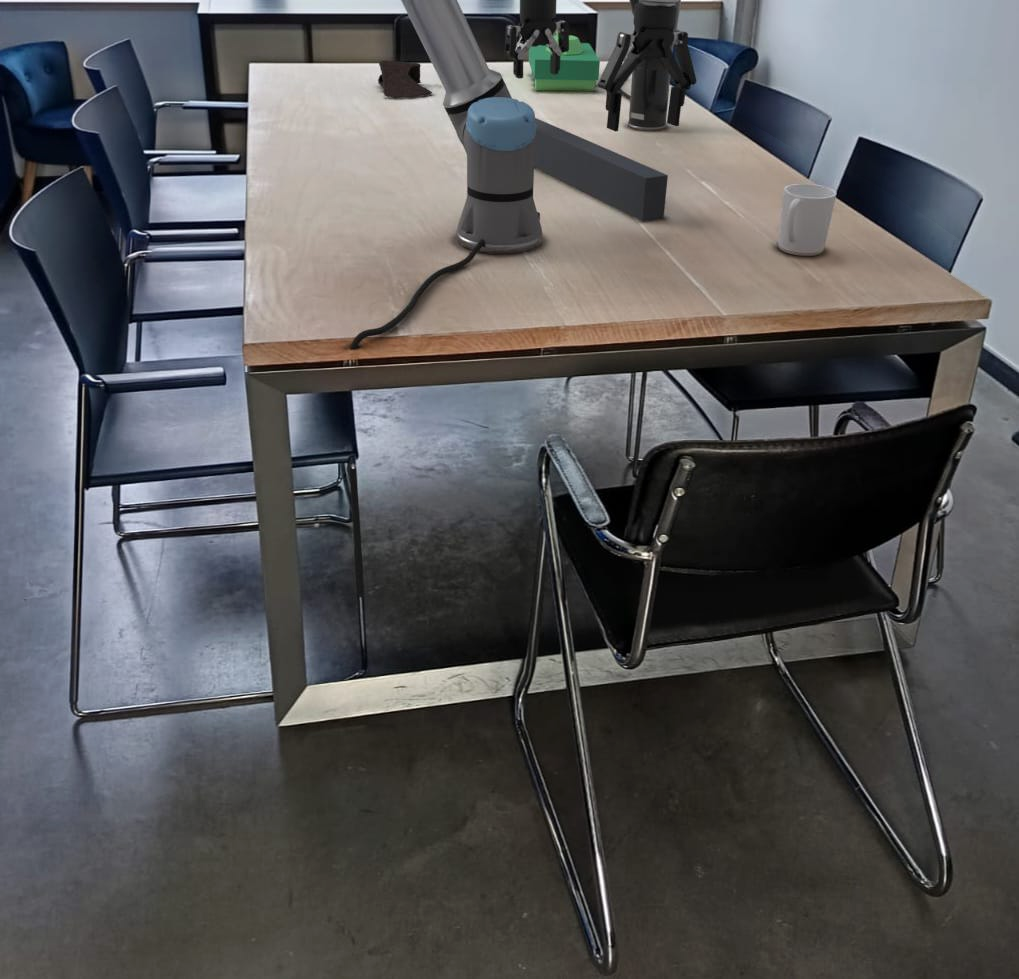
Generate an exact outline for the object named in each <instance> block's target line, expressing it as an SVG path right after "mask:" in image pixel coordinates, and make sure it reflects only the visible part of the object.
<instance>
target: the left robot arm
mask: <svg viewBox="0 0 1019 979" xmlns="http://www.w3.org/2000/svg"><path fill="white" fill-rule="evenodd" d="M678 1H679V0H639V2H637V3H636V4H635V11H634V15H633V21H632V22H633V27H634V29H633V32H632V34H630V33H625V32H623V31H620V32H618V34H617V37H616V43H615V46H614V48H613V51H612V53H611V55H610V56H609V59H608V61H607V63H606V64H605V65H606V66H605V67H604V69H603V71H602V73H601V75H600V77H599V80H598V81H597V87H598V88H600V89H602V90H604V91H605V92H606V95H605V96H606V97H605V111H607V120H606V129H608V130H611V131H613V132H619V129H620V128H619V126H620V117H621V107H622V97H623V94H621V93H620V92H619V90H620V89H622V87H623V86H624V85H625V84H626V82H627V80H628V79H629V78H630V77H631V76H632V72H633V71H634V70H635V68H636V67H637V66H638V64H639V63H641V62H643V60H644V59H645V60H651V59H657V60H659V59H661V60H662V62H663V63H664V65H665V67H666V69H667V71H668V72H669V74H670V79H671V80H672V82H673V83H674V85H675V86H671V87H670V92H669V94H670V95H669V100H668V108H667V117H666V124H667V125H670V126H674V127H679V126H680V118H681V110H682V107H684V105H685V100H686V92H687V91H688V90H690V89H691V87H692V86H695V85H696V84H697V77H696V73H695V69H694V65H693V61H692V58H691V53H690V49H689V33H688V32H687V31H684V30H680V29H677V30H676V31H675V33H674V32H673V28H674V27H675V26H676V20H677V11H678V7H677V6H676V5H675V3H677V2H678ZM400 2H401V3H402V6H403V7H404V9H405V12H406V13H407V15H408V18H409V20H410V22H411V23H412V25H413V28H414V30H415V32H416V34H417V36H418V38H419V40H420V42H421V44H422V46H423V48H424V50H425V52H426V54H427V56H428V58H429V60H430V62H431V64H432V66H433V68H434V70H435V72H436V75H437V77H438V78H439V80H440V83H441V85H442V87H443V89H444V91H445V95H444V97H443V101H442V106H443V108H444V110H445V112H446V114H447V116H448V118H449V120H450V122H451V124H452V126H453V128H454V130H455V132H456V133H455V134H456V136H457V138H458V140H459V142H460V143H461V145H462V146H463V149H464V151H465V153H466V192H467V193H466V198H465V202H464V205H463V209H462V211H461V214H460V218H459V220H458V224H457V228H456V241H457V243H458V244H459V245H461V246H462V247H464V248H466V249H468V250H470V252H469V253H468V255H467V256H466V257H465V258H463V259H462V260H460V261H458V262H456V263H453V264H450V265H448V266H445V267H442V268H440V269H438V270H437V271H434V272H433V273H432V274H431V275H430V276H429V277H428V278H427V279H426V280H424V282H423V283H422V284H421V285H420V286H419V287H418V288H417V290H416V291H415V293H414V294H413V296H412V298H411V299H410V301H409V302H408V304H407V306H405V308H404V309H403V310H402V311H401V312H399V314H398V315H396V316H395V317H394V318H393V319H391V320H390V321H388V322H386V323H385V324H384V325H382V326H380V327H376V328H370V329H366V330H362V331H361V332H359V333H357V335H356V336H355V337H354V339H353V340H352V342H351V344H350V346H349V350H350V351H354V350H356V349H358V346H359V345H360V343H361V342H362V341H363V340H364V339H366V338H368V337H369V338H370V337H373V336H380V335H382V334H385V333H387V332H388V331H390V330H391V329H393V328H394V327H395V326H397V325H398V324H399V323H400V322H402V321H403V320H404V319H405V318H406V317H407V316H408V315H409V314H410V313H411V312H412V311H413V309H414V308H415V307H416V305H417V303H418V302H419V299H420V298H421V297H422V295H423V294H424V293H425V291H426V290H427V289H428V288H429V286H431V284H433V283H434V282H435V280H437V279H438V278H440V277H441V276H444V275H446V274H448V273H451V272H454V271H456V270H459V269H461V268H463V267H465V266H467V265H468V264H470V262H472V261H473V259H474V258H475V256H476V255H477V253H478V252H479V253H486V254H497V255H499V254H500V255H506V254H507V255H508V254H517V253H524V252H527V251H530V250H533V249H536V248H538V247H539V246H540V245H541V244H542V243H543V229H542V224H541V213H540V212H539V211H538V210H537V206H536V204H535V199H534V183H535V181H534V180H535V167H534V156H535V135H536V129H537V128H536V122H535V118H536V114H535V111H534V109H533V108H532V106H530V105H529V104H528V103H526V102H524V101H520V100H518V99H516V98H513V97H512V95H511V93H510V91H509V89H508V87H507V84H506V82H505V79H504V78H503V75H502V73H501V72H498V71H496V70H493V69H490V68H489V65H488V64H487V61H486V60H485V57H484V55H483V52H482V51H481V48H480V46H479V45H478V42H477V40H476V38H475V36H474V34H473V31H472V29H471V27H470V25H469V23H468V20H467V18H466V16H465V14H464V12H463V10H462V8H461V6H460V3H459V1H458V0H400ZM672 43H674V49H675V53H676V58H677V61H678V62H677V61H676V58H675V54H674V52H672V50H671V49H670V46H671V44H672ZM630 47H631V48H630ZM629 49H630V50H629ZM636 54H638V55H636ZM348 470H349V482H350V483H349V484H350V497H351V511H352V523H353V534H354V535H353V536H354V548H355V562H356V577H357V578H356V579H357V580H356V581H357V595H358V598H364V597H365V583H364V566H363V564H364V563H363V551H362V537H361V525H360V524H361V523H360V522H361V521H360V513H359V512H360V511H359V496H358V495H359V494H358V483H357V482H358V480H357V469H356V468H349V469H348Z"/></svg>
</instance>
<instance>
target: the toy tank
mask: <svg viewBox="0 0 1019 979" xmlns="http://www.w3.org/2000/svg"><path fill="white" fill-rule="evenodd" d="M555 34H556V35H553V37H554V38H555V40H556V42H557V43H558V32H557V30H555ZM550 55H552V53H551V51H550V50H549V48H548V47H547V46H542V45H539V46H536V47H532V46H531V47H530V49H529V50H528V63H529V66H530V69H531V70H530V71H531V75H532V77H533V79H534V86H535V87H534V89H535V91H595V89H596V81H599V80H600V63H601V60H600V58H599V57H598V55H597V53H596V52H595V51H594V49H593V47H592V45H591V44H590V42H581V41H580V39H579V37H577V36H575V35H570V34H569V51H568V52H564V53H562V54H561V56H560V70H559V71H558V74H555V75H554V74H551V73H550Z"/></svg>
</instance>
